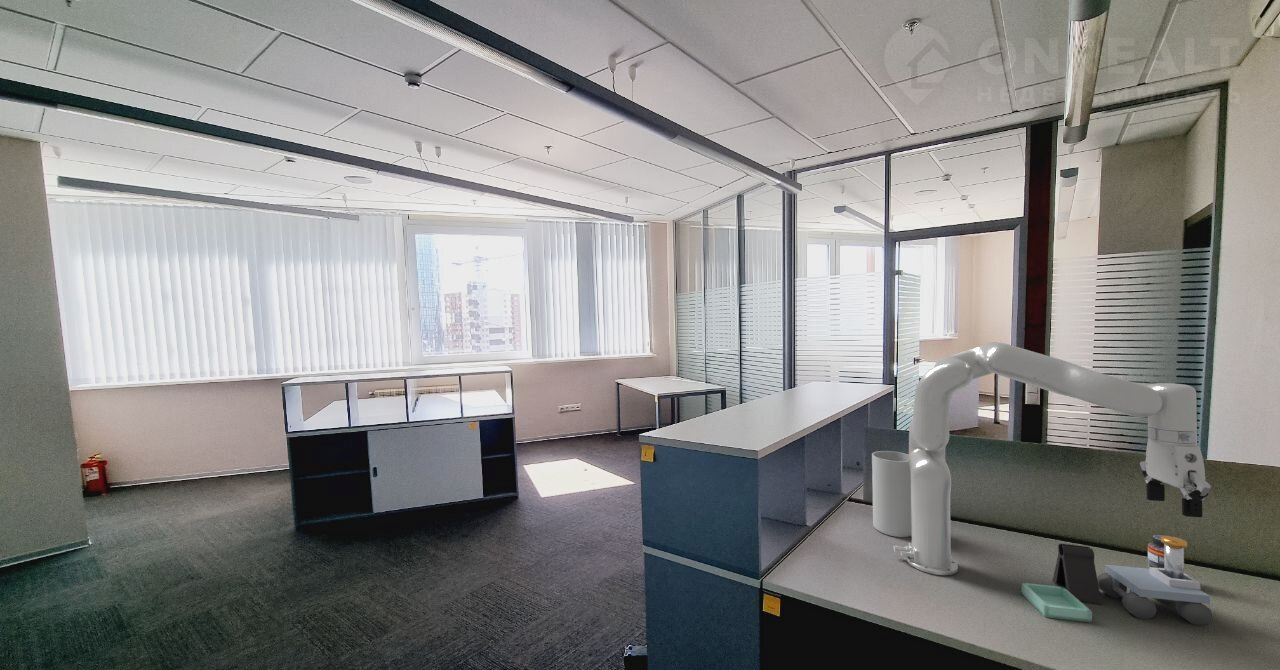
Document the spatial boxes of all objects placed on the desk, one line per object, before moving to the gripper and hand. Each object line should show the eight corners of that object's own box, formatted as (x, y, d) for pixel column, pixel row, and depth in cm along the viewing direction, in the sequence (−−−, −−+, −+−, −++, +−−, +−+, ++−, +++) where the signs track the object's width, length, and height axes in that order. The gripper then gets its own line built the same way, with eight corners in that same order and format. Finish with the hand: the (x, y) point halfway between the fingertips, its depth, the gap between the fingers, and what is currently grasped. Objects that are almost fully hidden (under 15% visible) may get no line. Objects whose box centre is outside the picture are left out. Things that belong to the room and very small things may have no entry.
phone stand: (1102, 605, 110) (1101, 556, 110) (1070, 600, 112) (1070, 552, 112) (1081, 585, 118) (1081, 539, 118) (1052, 581, 120) (1052, 536, 120)
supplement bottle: (1173, 577, 121) (1173, 535, 121) (1188, 589, 115) (1188, 545, 115) (1142, 572, 123) (1142, 531, 123) (1156, 583, 118) (1155, 541, 118)
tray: (1045, 617, 106) (1044, 606, 106) (1021, 592, 116) (1021, 582, 115) (1091, 622, 104) (1091, 611, 103) (1063, 597, 113) (1063, 587, 113)
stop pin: (1170, 584, 106) (1170, 542, 105) (1156, 575, 109) (1156, 534, 109) (1192, 587, 105) (1192, 544, 104) (1177, 577, 108) (1177, 536, 108)
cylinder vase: (907, 523, 157) (906, 451, 157) (921, 539, 145) (920, 462, 144) (868, 520, 160) (867, 450, 159) (879, 536, 148) (877, 460, 147)
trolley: (1213, 627, 101) (1212, 589, 101) (1129, 617, 105) (1129, 581, 105) (1170, 598, 112) (1169, 564, 112) (1095, 590, 116) (1095, 557, 115)
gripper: (1229, 446, 97) (1230, 524, 97) (1160, 428, 114) (1161, 495, 114) (1184, 444, 99) (1186, 522, 99) (1123, 427, 116) (1124, 493, 116)
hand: (1173, 507), depth 107 cm, fingers open, 9 cm apart
